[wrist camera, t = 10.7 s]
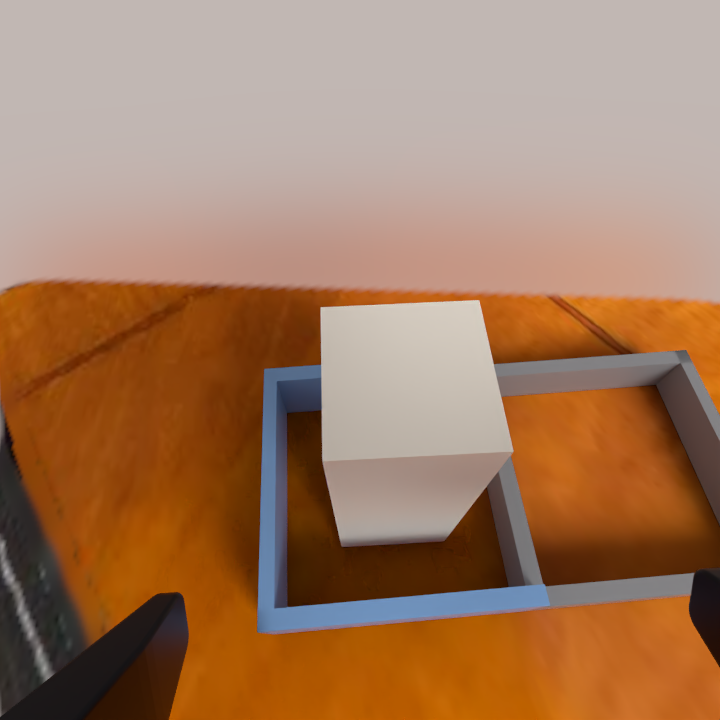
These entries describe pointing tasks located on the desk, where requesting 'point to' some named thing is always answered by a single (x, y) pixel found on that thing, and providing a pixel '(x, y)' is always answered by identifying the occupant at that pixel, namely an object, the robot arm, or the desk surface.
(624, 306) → the desk surface
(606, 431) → the desk surface
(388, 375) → the white rectangular block
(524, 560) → the organizer
